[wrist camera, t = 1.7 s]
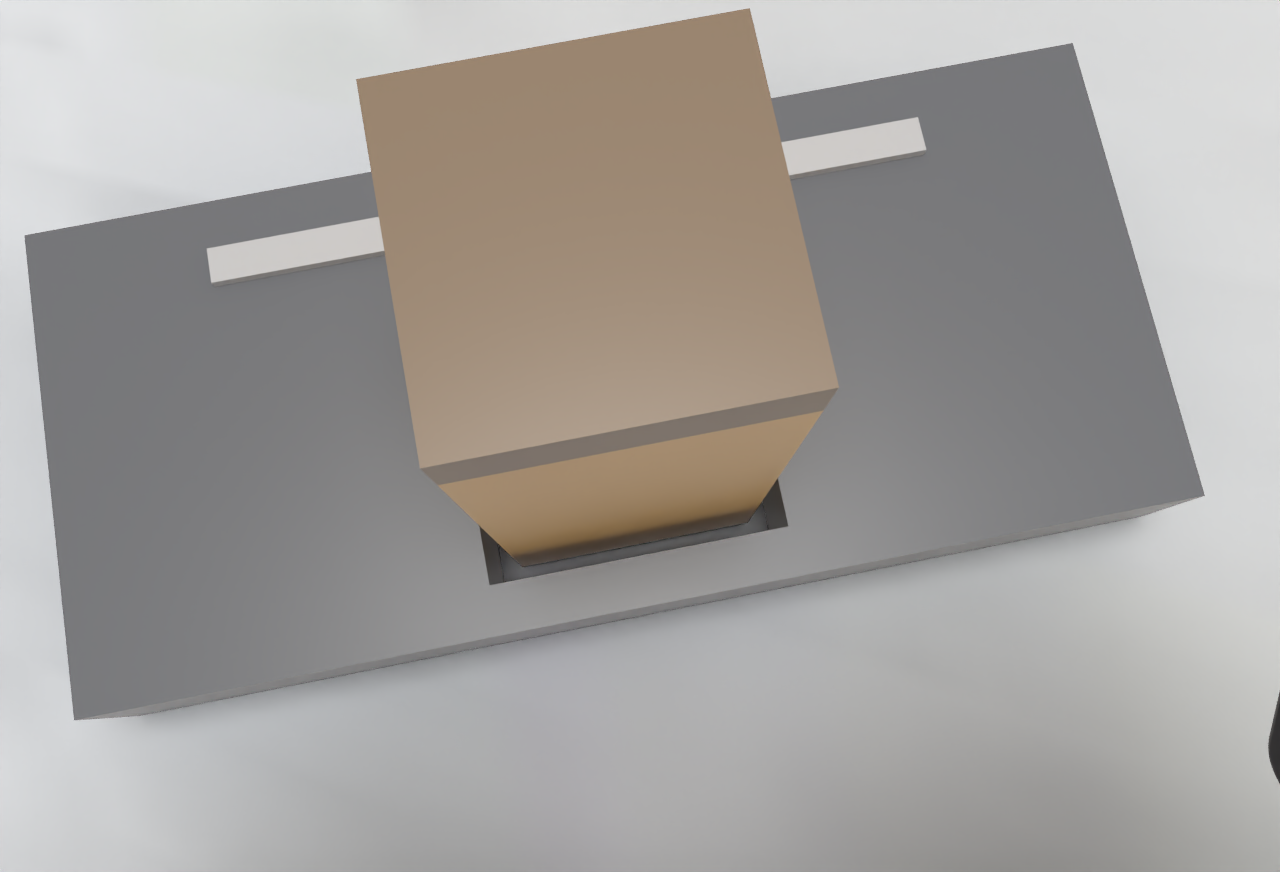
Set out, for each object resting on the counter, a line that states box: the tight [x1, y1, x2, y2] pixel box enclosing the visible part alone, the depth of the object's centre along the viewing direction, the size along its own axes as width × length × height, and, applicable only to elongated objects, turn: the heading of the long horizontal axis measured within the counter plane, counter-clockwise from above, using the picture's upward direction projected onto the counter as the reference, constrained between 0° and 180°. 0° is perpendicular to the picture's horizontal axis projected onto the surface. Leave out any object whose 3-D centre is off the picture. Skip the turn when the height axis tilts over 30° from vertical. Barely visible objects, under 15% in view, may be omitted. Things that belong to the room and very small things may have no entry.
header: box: [25, 43, 1205, 720], centre depth 21 cm, size 8×18×3 cm, turn 101°
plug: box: [356, 8, 839, 567], centre depth 17 cm, size 4×4×10 cm
